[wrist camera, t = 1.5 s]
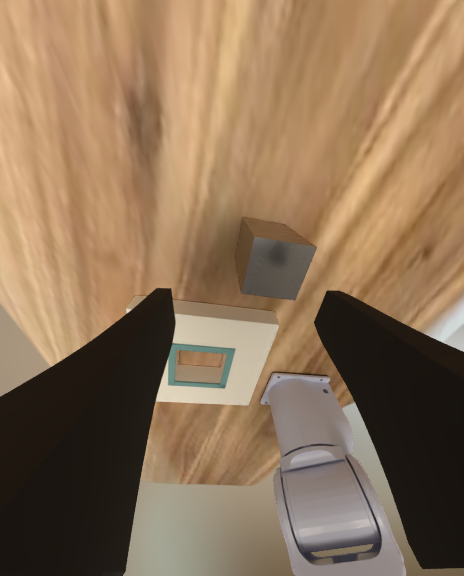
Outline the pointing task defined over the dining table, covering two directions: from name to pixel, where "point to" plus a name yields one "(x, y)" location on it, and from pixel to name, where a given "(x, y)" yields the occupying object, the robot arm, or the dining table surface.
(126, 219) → the dining table surface
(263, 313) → the socket board
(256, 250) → the grey peg
